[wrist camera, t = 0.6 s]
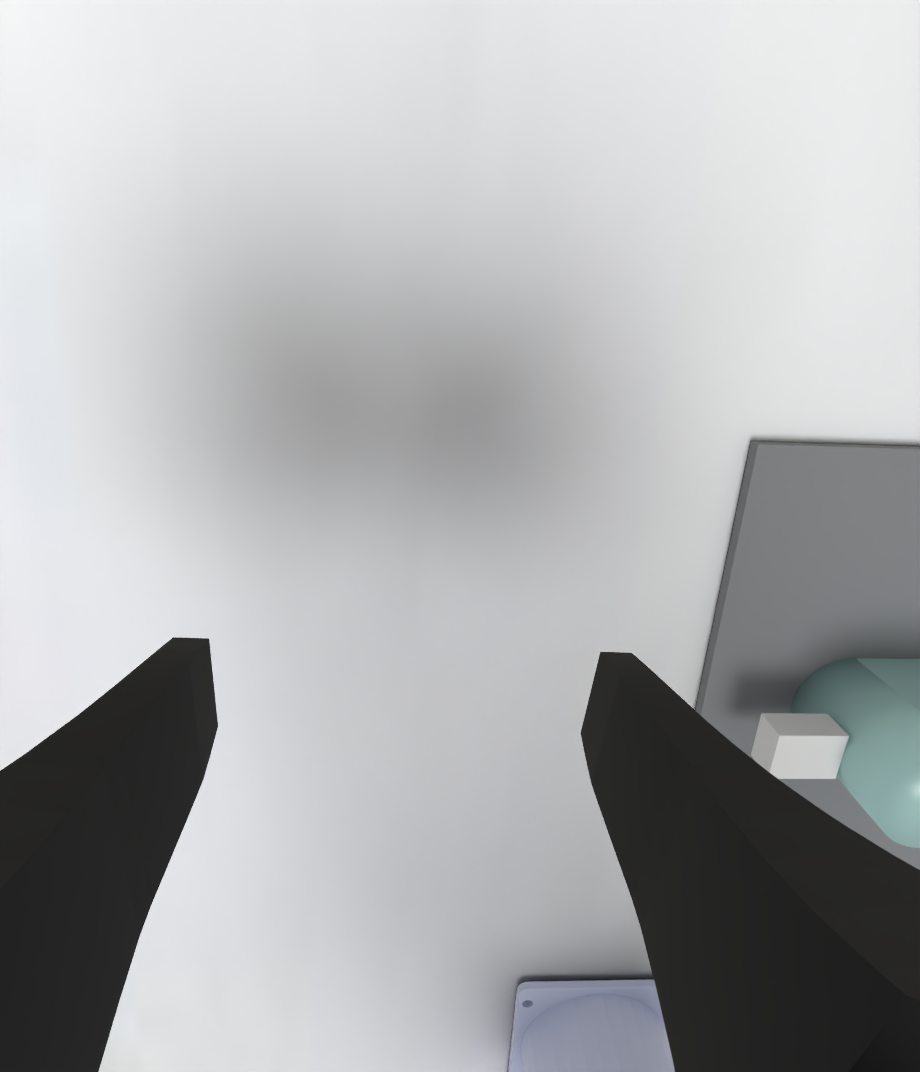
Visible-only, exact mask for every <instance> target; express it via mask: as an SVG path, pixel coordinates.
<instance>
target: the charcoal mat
mask: <svg viewBox="0 0 920 1072" xmlns="http://www.w3.org/2000/svg"><path fill="white" fill-rule="evenodd" d="M851 658H875V659H920V446H889V445H856V444H824V443H791V442H759V441H751V443H750V448H749V453H748V458H747V463H746V467H745V472H744V477H743V482H742V487H741V491H740V496H739V501H738V506H737V511H736V516H735V520H734V525H733V530H732V535H731V540H730V545H729V549H728V554H727V559H726V564H725V569H724V574H723V578H722V583H721V588H720V593H719V598H718V602H717V607H716V612H715V617H714V622H713V627H712V631H711V636H710V641H709V646H708V651H707V656H706V660H705V665H704V670H703V675H702V680H701V685H700V689H699V694H698V699H697V704H696V709H695V711H696V712H697V713H698V714H700V715H701V716H702V717H703V718H704V719H705V720H706V721H707V722H709V723H710V724H711V725H712V726H713V727H714V728H716V729H717V730H718V731H719V732H720V733H721V734H723V735H724V736H725V737H726V738H727V739H728V740H730V741H731V742H732V743H733V744H734V745H736V746H737V747H738V748H739V749H741V750H742V751H743V752H744V753H746V754H747V755H748V756H749V757H751V758H752V759H753V757H752V756H751V753H752V749H753V745H754V741H755V737H756V733H757V729H758V725H759V721H760V717H761V713H791V706H792V702H793V699H794V696H795V694H796V692H797V690H798V689H799V687H800V686H801V685H802V683H803V682H804V681H805V680H806V679H807V678H808V677H809V676H810V675H811V674H813V673H814V672H815V671H817V670H818V669H820V668H822V667H824V666H826V665H828V664H830V663H833V662H835V661H839V660H843V659H851ZM753 760H754V759H753ZM754 761H755V760H754ZM779 780H780V781H781V782H783V783H784V784H786V785H787V786H788V787H790V788H791V789H793V790H794V791H795V792H797V793H798V794H800V795H801V796H803V797H804V798H805V799H807V800H808V801H810V802H811V803H813V804H814V805H815V806H817V807H818V808H820V809H821V810H823V811H824V812H826V813H827V814H829V815H830V816H832V817H833V818H835V819H836V820H838V821H839V822H841V823H842V824H844V825H845V826H847V827H849V828H850V829H852V830H853V831H855V832H857V833H858V834H860V835H862V836H863V837H865V838H866V839H868V840H870V841H871V842H873V843H875V844H876V845H878V846H879V847H881V848H883V849H884V850H886V851H888V852H889V853H891V854H893V855H894V856H896V857H898V858H900V859H901V860H903V861H905V862H907V863H908V864H910V865H912V866H914V867H915V868H917V869H919V870H920V848H913V847H907V846H904V845H901V844H898V843H896V842H894V841H893V840H891V839H890V838H889V837H888V836H887V835H886V834H885V833H884V832H883V831H882V830H881V829H880V827H879V826H878V825H877V824H876V823H875V822H874V820H873V819H872V818H871V817H870V816H869V815H868V813H867V812H866V811H865V810H864V809H863V808H862V806H861V805H860V804H859V803H858V802H857V801H856V799H855V798H854V797H853V796H852V795H851V794H850V792H849V791H848V790H847V789H846V788H845V787H844V785H843V784H842V783H841V782H840V781H839V780H838V778H837V777H836V779H779Z"/></svg>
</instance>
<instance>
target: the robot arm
mask: <svg viewBox="0 0 920 1072" xmlns="http://www.w3.org/2000/svg"><path fill="white" fill-rule="evenodd" d="M217 728H218V722H217V713H216V703H215V693H214V683H213V674H212V664H211V654H210V644H209V639H202V638H172V639H171V640H170V641H168V642H167V643H166V644H165V645H163V646H162V647H161V648H160V649H159V650H157V651H156V652H155V653H154V654H153V655H151V656H150V657H149V658H148V659H146V660H145V661H144V662H143V663H142V664H140V665H139V666H138V667H137V668H136V669H134V670H133V671H132V672H131V673H130V674H128V675H127V676H126V677H125V678H124V679H122V680H121V681H120V682H119V683H118V684H116V685H115V686H114V687H113V688H111V689H110V690H109V691H108V692H106V693H105V694H104V695H103V696H101V697H100V698H99V699H98V700H96V701H95V702H94V703H93V704H91V705H90V706H89V707H88V708H86V709H85V710H84V711H83V712H81V713H80V714H79V715H78V716H76V717H75V718H74V719H72V720H71V721H69V722H68V723H67V724H65V725H64V726H63V727H61V728H60V729H59V730H57V731H56V732H54V733H53V734H52V735H50V736H49V737H48V738H46V739H45V740H44V741H42V742H41V743H40V744H38V745H37V746H35V747H34V748H33V749H31V750H30V751H29V752H27V753H26V754H24V755H23V756H22V757H20V758H19V759H17V760H16V761H14V762H13V763H11V764H10V765H8V766H7V767H5V768H4V769H2V770H1V771H0V1072H98V1071H99V1067H100V1064H101V1061H102V1057H103V1054H104V1051H105V1047H106V1044H107V1040H108V1037H109V1034H110V1030H111V1027H112V1023H113V1020H114V1017H115V1013H116V1010H117V1007H118V1003H119V1000H120V997H121V994H122V990H123V987H124V984H125V981H126V978H127V974H128V971H129V968H130V965H131V962H132V958H133V955H134V952H135V949H136V946H137V943H138V939H139V936H140V933H141V931H142V928H143V925H144V923H145V920H146V917H147V915H148V912H149V909H150V907H151V904H152V902H153V899H154V897H155V894H156V892H157V890H158V887H159V885H160V882H161V880H162V878H163V875H164V873H165V871H166V868H167V866H168V863H169V861H170V859H171V856H172V854H173V851H174V849H175V847H176V844H177V842H178V839H179V837H180V835H181V832H182V830H183V828H184V825H185V823H186V820H187V818H188V815H189V813H190V811H191V808H192V806H193V803H194V801H195V798H196V796H197V794H198V791H199V789H200V786H201V784H202V781H203V778H204V775H205V771H206V768H207V764H208V761H209V758H210V754H211V750H212V746H213V743H214V739H215V735H216V731H217ZM581 737H582V742H583V747H584V752H585V757H586V761H587V766H588V770H589V775H590V779H591V783H592V786H593V789H594V792H595V795H596V798H597V801H598V804H599V807H600V810H601V813H602V815H603V818H604V821H605V824H606V827H607V830H608V833H609V835H610V838H611V841H612V844H613V847H614V849H615V852H616V855H617V858H618V861H619V864H620V866H621V869H622V872H623V875H624V878H625V880H626V883H627V886H628V889H629V892H630V895H631V897H632V900H633V904H634V907H635V910H636V913H637V916H638V920H639V923H640V926H641V930H642V934H643V938H644V942H645V946H646V950H647V954H648V958H649V962H650V966H651V970H652V974H653V977H654V979H646V980H590V981H535V982H523V983H521V984H520V985H519V986H518V988H517V992H516V1002H515V1011H514V1021H513V1030H512V1040H511V1049H510V1058H509V1068H508V1072H920V870H919V869H917V868H915V867H914V866H912V865H910V864H908V863H907V862H905V861H903V860H901V859H900V858H898V857H896V856H894V855H893V854H891V853H889V852H888V851H886V850H884V849H883V848H881V847H879V846H878V845H876V844H875V843H873V842H871V841H870V840H868V839H866V838H865V837H863V836H862V835H860V834H858V833H857V832H855V831H853V830H852V829H850V828H849V827H847V826H845V825H844V824H842V823H841V822H839V821H838V820H836V819H835V818H833V817H832V816H830V815H829V814H827V813H826V812H824V811H823V810H821V809H820V808H818V807H817V806H815V805H814V804H813V803H811V802H810V801H808V800H807V799H805V798H804V797H803V796H801V795H800V794H798V793H797V792H795V791H794V790H793V789H791V788H790V787H788V786H787V785H786V784H784V783H783V782H781V781H780V780H779V779H777V778H776V777H775V776H773V775H772V774H771V773H769V772H768V771H767V770H766V769H764V768H763V767H762V766H761V765H759V764H758V763H757V762H756V761H754V760H753V759H752V758H751V757H749V756H748V755H747V754H746V753H744V752H743V751H742V750H741V749H739V748H738V747H737V746H736V745H734V744H733V743H732V742H731V741H730V740H728V739H727V738H726V737H725V736H724V735H723V734H721V733H720V732H719V731H718V730H717V729H716V728H714V727H713V726H712V725H711V724H710V723H709V722H707V721H706V720H705V719H704V718H703V717H702V716H701V715H700V714H698V713H697V712H696V711H695V710H694V709H693V708H692V707H691V706H690V705H688V704H687V703H686V702H685V701H684V700H683V699H682V698H681V697H680V696H679V695H678V694H676V693H675V692H674V691H673V690H672V689H671V688H670V687H669V686H668V685H667V684H666V683H664V682H663V681H662V680H661V679H660V678H659V677H658V676H657V675H656V674H655V673H654V672H653V671H651V670H650V669H649V668H648V667H647V666H646V665H645V664H644V663H643V662H641V661H640V660H639V659H638V658H637V657H636V656H634V655H633V654H632V653H617V652H600V656H599V660H598V664H597V668H596V673H595V677H594V681H593V685H592V689H591V693H590V697H589V701H588V705H587V710H586V714H585V718H584V722H583V726H582V730H581Z"/></svg>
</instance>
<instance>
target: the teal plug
mask: <svg viewBox="0 0 920 1072" xmlns="http://www.w3.org/2000/svg"><path fill="white" fill-rule="evenodd" d="M751 756H752V757H753V759H754V760H755V761H756V762H757V763H758V764H759V765H761V766H762V767H763V768H764V769H766V770H767V771H768V772H769V773H771V774H772V775H773V776H775V777H776V778H777V779H836V777H837V778H838V780H839V781H840V782H841V783H842V784H843V785H844V787H845V788H846V789H847V790H848V791H849V792H850V794H851V795H852V796H853V797H854V798H855V799H856V801H857V802H858V803H859V804H860V805H861V806H862V808H863V809H864V810H865V811H866V812H867V813H868V815H869V816H870V817H871V818H872V819H873V820H874V822H875V823H876V824H877V825H878V826H879V827H880V829H881V830H882V831H883V832H884V833H885V834H886V835H887V836H888V837H889V838H890V839H891V840H893V841H894V842H896V843H898V844H901V845H904V846H907V847H913V848H920V659H875V658H851V659H843V660H839V661H835V662H833V663H830V664H828V665H826V666H824V667H822V668H820V669H818V670H817V671H815V672H814V673H813V674H811V675H810V676H809V677H808V678H807V679H806V680H805V681H804V682H803V683H802V685H801V686H800V687H799V689H798V690H797V692H796V694H795V696H794V699H793V702H792V706H791V713H761V717H760V721H759V725H758V729H757V733H756V737H755V741H754V745H753V749H752V753H751Z"/></svg>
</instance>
